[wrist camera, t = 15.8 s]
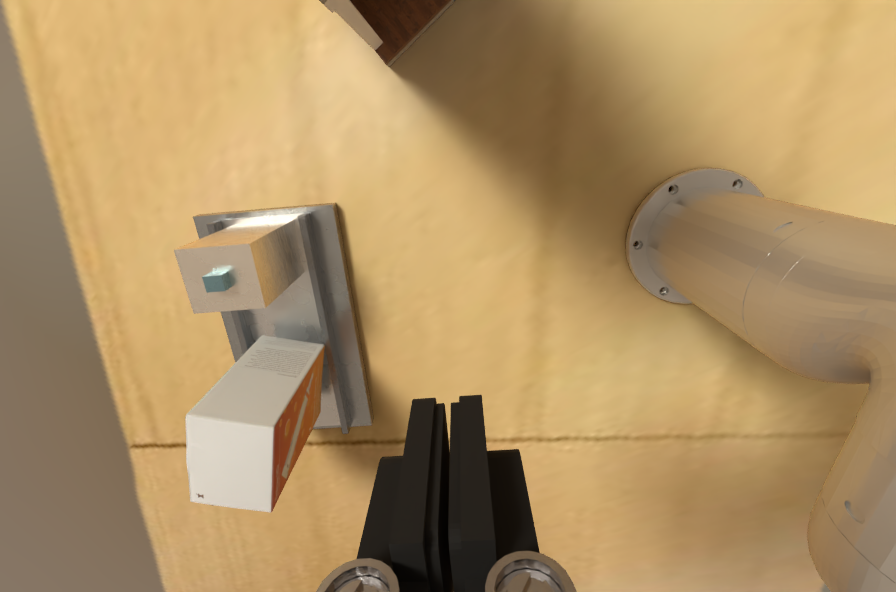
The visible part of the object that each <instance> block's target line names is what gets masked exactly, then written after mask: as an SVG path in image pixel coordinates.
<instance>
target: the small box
mask: <svg viewBox="0 0 896 592" xmlns="http://www.w3.org/2000/svg"><path fill="white" fill-rule="evenodd" d="M324 349H325V345H324V344H318V343H311V342H304V341H297V340H291V339H285V338H278V337H271V336H264V335H262V336H261V337H260V338H259V339H258V340H257V341H256V342H255V343H254V344H253V345H252V346H251V347H250V348H249V349H248V350H247V351H246V352H245V353H244V355H243V356H242V357H241V358H240V359H239V360H238V361H237V362H236V363H235V364H234V365H233V366H232V367H231V368H230V369H229V370H228V371H227V372H226V373H225V374H224V376H223V377H222V378H221V379H220V380H219V381H218V382H217V383H216V384H215V385H214V386H213V387H212V388H211V389H210V390H209V391H208V392H207V393H206V395H205V396H204V397H203V398H202V399H201V400H200V401H199V402H198V403H197V404H196V405H195V406H194V407H193V408H192V409H191V410H190V411H189V412H188V413H187V414H186V443H187V455H186V460H187V470H188V476H189V489H190V501H191V502H197V503H202V504H209V505H216V506H223V507H231V508H239V509H247V510H255V511H264V512H272V511H273V509H274V507H275V504H276V502H277V500H278V498H279V496H280V494H281V492H282V490H283V488H284V486H285V484H286V482H287V480H288V477H289V475H290V473H291V471H292V469H293V467H294V465H295V463H296V461H297V459H298V457H299V455H300V453H301V451H302V449H303V447H304V445H305V443H306V441H307V439H308V437H309V434H310V433H311V431H312V429H313V427H314V425H315V423H316V421H317V418H318V416H319V414H320V412H321V388H322V373H323V360H324Z"/></svg>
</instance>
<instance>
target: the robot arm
mask: <svg viewBox="0 0 896 592" xmlns="http://www.w3.org/2000/svg"><path fill="white" fill-rule="evenodd" d="M733 182H734V184H733ZM670 186H671V190H670V191H668V189H669V187H670ZM635 241H637V243H636V245H633V244H634V242H635ZM626 256H627V261H628V264H629V267H630V270H631V272H632V273H633V275H634V277H635V279H636V280H637V281H638V282H639V283H640V284H641V285H642V286H643V287H644V288H645V289H646V290H647V291H649V292H650V293H651V294H653V295H654V296H656V297H658V298H660V299H663V300H666V301H669V302H672V303H681V304H690V303H694V304H695V305H696V306H698V307H699V308H701V309H702V310H703V311H705V312H706V313H708V314H709V315H710V316H712V317H713V318H714V319H716V320H717V321H719V322H720V323H721V324H723V325H724V326H725V327H727V328H728V329H730V330H731V331H732V332H734V333H735V334H736V335H738V336H739V337H741V338H742V339H743V340H745V341H746V342H748V343H749V344H750V345H752V346H753V347H754V348H756V349H757V350H759V351H760V352H761V353H763V354H764V355H766V356H767V357H769V358H770V359H772V360H773V361H774V362H776V363H777V364H779V365H781V366H782V367H784V368H786V369H787V370H789V371H791V372H794V373H796V374H798V375H801V376H804V377H807V378H810V379H814V380H819V381H823V382H830V383H845V384H864V383H870V385H869V390H868V392H867V395H866V397H865V399H864V401H863V403H862V405H861V408H860V410H859V412H858V414H857V416H856V421H855V423H854V425H853V427H852V429H851V431H850V433H849V435H848V437H847V439H846V441H845V443H844V445H843V447H842V449H841V451H840V453H839V455H838V457H837V459H836V461H835V463H834V465H833V467H832V469H831V470H830V472H829V474H828V476H827V478H826V480H825V482H824V484H823V488H822V490H821V492H820V494H819V496H818V498H817V500H816V502H815V505H814V507H813V510H812V512H811V515H810V520H809V524H808V533H807V540H808V547H809V551H810V555H811V558H812V560H813V563H814V565H815V567H816V570H817V571H818V573H819V575H820V577H821V578H822V580H823V581H824V582H825V584H826V585H827V587H828V588H829V589H830V591H831V592H896V225H892V224H888V223H883V222H878V221H873V220H868V219H863V218H858V217H853V216H849V215H844V214H839V213H835V212H830V211H825V210H820V209H816V208H811V207H806V206H802V205H797V204H792V203H788V202H783V201H778V200H774V199H769V198H764V196H763V194H762V193H761V191H760V190H759V189H758V187H757V186H756V185H755V184H754V183H752V182H751V181H750V180H749V179H747V178H746V177H744V176H742V175H740V174H738V173H736V172H733V171H728V170H724V169H716V168H701V169H693V170H690V171H686V172H682V173H680V174H678V175H676V176H674V177H671V178H669V179H667V180H666V181H665V182H663V183H662V184H660V185H659V186H657V187H656V188H655V189H654V190H653V191H652V192H651V193H650V194H649V195H648V196H647V197H646V198H645V199H644V200H643V202H642V203H641V204H640V206H639V207H638V208H637V210H636V212H635V214H634V216H633V218H632V220H631V222H630V225H629V229H628V232H627V238H626ZM661 288H662V289H661ZM660 289H661V290H660ZM316 592H576V589H575V587H574V584H573V582H572V580H571V579H570V577H569V575H568V574H567V572H566V570H565V569H564V568H563V567H561V566H560V565H559V564H558V563H557V562H556V561H555V560H553V559H551V558H550V557H548V556H546V555H544V554H541V553H540V552H539V547H538V542H537V537H536V532H535V527H534V522H533V517H532V512H531V507H530V502H529V496H528V491H527V486H526V481H525V476H524V471H523V466H522V461H521V456H520V452H519V449H514V450H496V451H487V448H486V437H485V426H484V416H483V405H482V395H472V396H460V397H459V402H457V403H451V425H450V450H449V441H448V431H447V422H446V412H445V405H444V403H441V404H436V399H435V398H425V399H413V401H412V406H411V412H410V418H409V424H408V430H407V436H406V442H405V448H404V454H403V456H392V457H382V458H381V459H380V462H379V466H378V470H377V474H376V479H375V483H374V487H373V491H372V496H371V500H370V504H369V508H368V513H367V517H366V521H365V525H364V530H363V534H362V538H361V542H360V547H359V551H358V555H357V559H356V560H353V561H350V562H347V563H344V564H343V565H341V566H339V567H338V568H336V569H335V570H333V571H332V572H331V573H330V574H329V575H328V576H327V577H326V578H325V579H324V580H323V581H322V583H321V584H320V586H319V588H318V589H317V591H316Z"/></svg>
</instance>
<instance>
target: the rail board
mask: <svg viewBox="0 0 896 592" xmlns="http://www.w3.org/2000/svg"><path fill="white" fill-rule="evenodd" d="M193 219H194V222H195V225H196V229H197V232H198V236H199V240H196V241H194V242H191V243H189V244H187V245H184V246H182V247H179V248H177V249H175V250H174V252H175V255H176V259H177V262H178V265H179V268H180V271H181V274H182V278H183V281H184V284H185V287H186V290H187V293H188V297H189V300H190V303H191V306H192V309H193V312H194V314H195V313H208V312H221V314H222V318H223V321H224V325H225V328H226V332H227V335H228V338H229V342H230V345H231V349H232V352H233V355H234V359H235V362H237V361H238V360H239V359H240V358H241V357H242V356H243V355H244V353H245V352H246V351H247V350H248V349H249V348H250V347H251V346H252V345H253V344H254V343H255V342H256V341H257V340H258V339H259V338H260V337H261V336H262V335H264V336H271V337H278V338H285V339H291V340H297V341H304V342H311V343H318V344H324V345H325V349H324V360H323V373H322V388H321V412H320V414H319V416H318V418H317V421H316V423H315V425H314V427H313V429H321V428H337V427H341V428H342V433H343V434H347V433H349V430H350V427H354V426H370V425H372V423H373V419H374V417H373V412H372V406H371V400H370V394H369V389H368V383H367V377H366V372H365V366H364V360H363V355H362V349H361V343H360V337H359V332H358V326H357V320H356V315H355V309H354V303H353V297H352V292H351V286H350V280H349V275H348V269H347V263H346V258H345V252H344V246H343V240H342V235H341V229H340V223H339V218H338V212H337V206H336V203H327V204H316V205H304V206H293V207H281V208H269V209H258V210H246V211H235V212H223V213H212V214H200V215H197V216H194V217H193Z"/></svg>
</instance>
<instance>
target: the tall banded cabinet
mask: <svg viewBox="0 0 896 592" xmlns="http://www.w3.org/2000/svg"><path fill="white" fill-rule="evenodd" d="M319 1H320V2H321V3H323V4H324V5H325V6H326V7H327V8H328V9H329V10H330V11H331V12H332V13H333V11H335V12H336V13H337V14H338V15H339V16H341V17H342V18H343V19H344V20H345V21H346V22H347V23H348V24H349V25H350V26H351V27H352V28H353V29H354V30H355V31H356V32H357V33H358V34H359V35H360V36H361V37H362V38H363V39H364V40H365V41H366V42H367V43H368V44H369V45H370V46H371V47H372V48H373V49H374V50H375V51H376V53H377V54H378V55H379V56H380V57H381V59H382V60H383V61H384V62H385V64H386V65H387V66H388V67H390V66H391V65H392V64H393V63H394V62H395V61H396V60H397V59H398V58H399V57H400V56H401V55H402V54H403V53H404V52H405V51H406V50H407V49H408V48H409V47H410V46H411V45H412V44H413V42H414V41H415V40H416V39H417V38H418V37H419V36H420V35H421V34H422V33H423V32H424V31H425V30H426V29H427V28H428V27H429V26H430V25H431V24H432V23H433V22H434V21H435V20H436V19H437V18H438V17H439V16H440V15H441V14H442V13H443V12H444V11H445V10H446V9H447V8H448V7H449V6H450V5H451V4H452V3H453V2H454V1H455V0H319Z"/></svg>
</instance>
